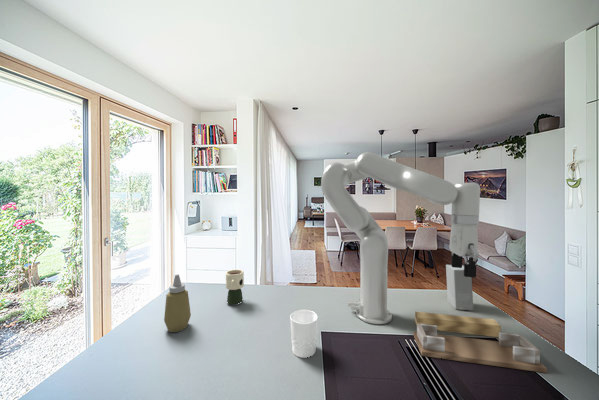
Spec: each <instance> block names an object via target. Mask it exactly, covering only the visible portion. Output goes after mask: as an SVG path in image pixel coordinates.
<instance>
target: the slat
mask: <svg viewBox="0 0 599 400" xmlns="http://www.w3.org/2000/svg"><path fill="white" fill-rule="evenodd" d="M414 313H415V314H414V322H415V325H416V326H417V323H419V324H428V325H436V326H437V331H440V332H442V331H443V332H451V333H459V334H468V335H478V336H487V337H495V338H496V337H497V338H499V332H500V333H502V325H501V324H499V322H497V321H496V320H495V319H493V318H483V317H482V318H481V317H474V316H473V317H472V316H463V315H455V314H444V313H434V312H425V311H424V312H423V311H415V312H414Z"/></svg>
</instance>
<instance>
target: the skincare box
mask: <svg viewBox="0 0 599 400" xmlns="http://www.w3.org/2000/svg"><path fill="white" fill-rule="evenodd" d="M445 270H446V271H445V274H446V292H447V294H446V295H447V296H446V297H447V302H448V303H449V304H450V305H451V306H452V307H453V308H454V309H455V310H462V311H463V310H464V311H474V296H473V294H474V293H473V277H465V276H464V264H462V268H455V267H452V266H451V264H445Z"/></svg>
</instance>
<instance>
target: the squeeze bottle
mask: <svg viewBox="0 0 599 400" xmlns="http://www.w3.org/2000/svg"><path fill="white" fill-rule="evenodd" d="M189 298H190V297H189V291H188V290H187V289H186V284H185V283H182V281H181V277H180V274H179V273H178V274H175V275H174V279H173V283H172V284H171V285H170V286H169V292H168V293H166V297H165V308H164V319H163V321H164V324H165V326H166V328H167V331H168V332H171V333H176V332H181V331H183V330H185V329H186V328H187V327H188V325H189V321H190V319H191V316H192V314H191V307H190V305H191V304H190V299H189Z"/></svg>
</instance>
